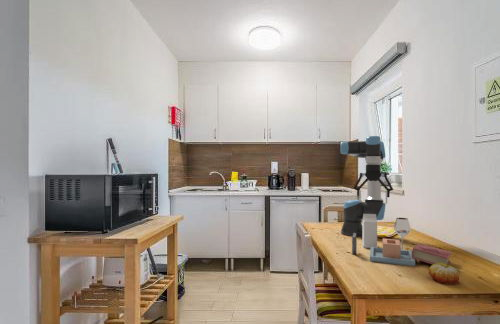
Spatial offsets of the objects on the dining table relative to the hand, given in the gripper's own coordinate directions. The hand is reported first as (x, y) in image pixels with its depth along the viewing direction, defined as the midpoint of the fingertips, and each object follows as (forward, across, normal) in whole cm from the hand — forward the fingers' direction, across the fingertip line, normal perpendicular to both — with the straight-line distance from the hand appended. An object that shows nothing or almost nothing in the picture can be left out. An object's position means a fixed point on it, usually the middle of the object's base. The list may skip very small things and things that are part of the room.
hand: (373, 202), depth 176 cm
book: (+26, +26, -10) cm, 38 cm away
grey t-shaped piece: (+27, -9, -10) cm, 30 cm away
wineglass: (+27, +15, +7) cm, 32 cm away
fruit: (+27, +28, -36) cm, 53 cm away
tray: (+27, +9, -10) cm, 30 cm away
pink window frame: (+26, +9, -10) cm, 30 cm away
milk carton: (+27, -2, +10) cm, 29 cm away
